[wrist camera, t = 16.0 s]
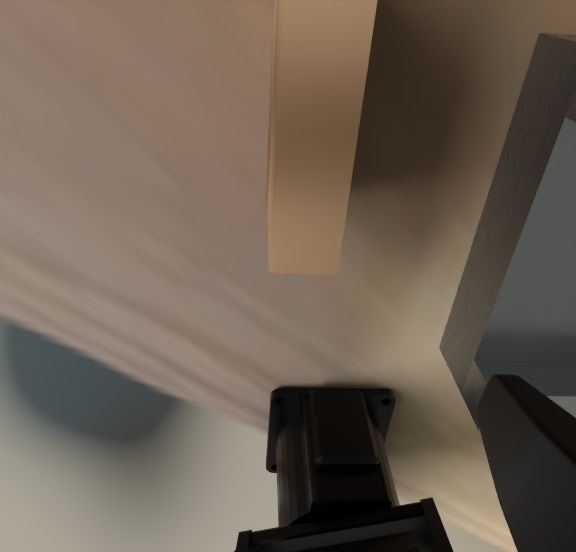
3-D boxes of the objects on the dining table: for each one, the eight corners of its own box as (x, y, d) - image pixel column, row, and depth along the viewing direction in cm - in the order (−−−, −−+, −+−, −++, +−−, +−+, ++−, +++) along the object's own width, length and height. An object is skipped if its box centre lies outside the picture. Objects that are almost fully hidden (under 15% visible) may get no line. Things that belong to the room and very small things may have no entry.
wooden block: (316, 192, 19) (337, 274, 14) (266, 191, 19) (268, 273, 14) (341, -52, 14) (386, -63, 9) (276, -57, 14) (286, -71, 9)
